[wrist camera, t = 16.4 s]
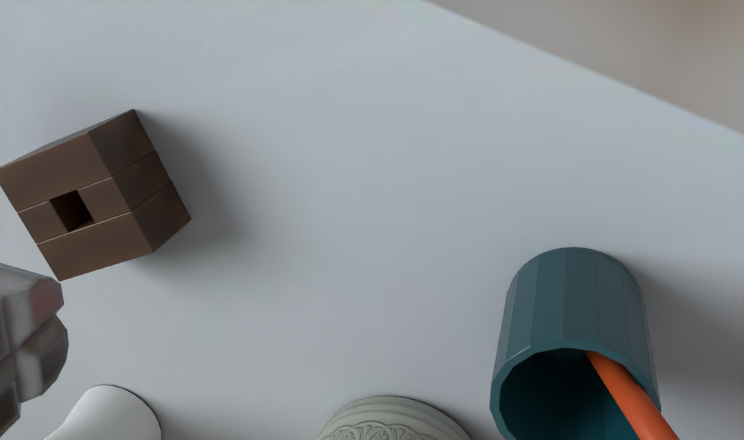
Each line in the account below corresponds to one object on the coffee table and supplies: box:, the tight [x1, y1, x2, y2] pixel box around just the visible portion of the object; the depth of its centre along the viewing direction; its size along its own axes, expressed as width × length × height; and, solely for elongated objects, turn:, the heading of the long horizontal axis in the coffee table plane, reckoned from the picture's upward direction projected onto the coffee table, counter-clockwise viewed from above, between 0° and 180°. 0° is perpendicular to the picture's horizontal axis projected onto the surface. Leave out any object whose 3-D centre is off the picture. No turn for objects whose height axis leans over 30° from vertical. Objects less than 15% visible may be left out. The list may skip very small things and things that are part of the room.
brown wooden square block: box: [0, 109, 191, 281], centre depth 47 cm, size 8×8×5 cm
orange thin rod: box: [583, 350, 680, 440], centre depth 35 cm, size 1×1×18 cm
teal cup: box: [490, 247, 661, 440], centre depth 40 cm, size 8×8×10 cm
